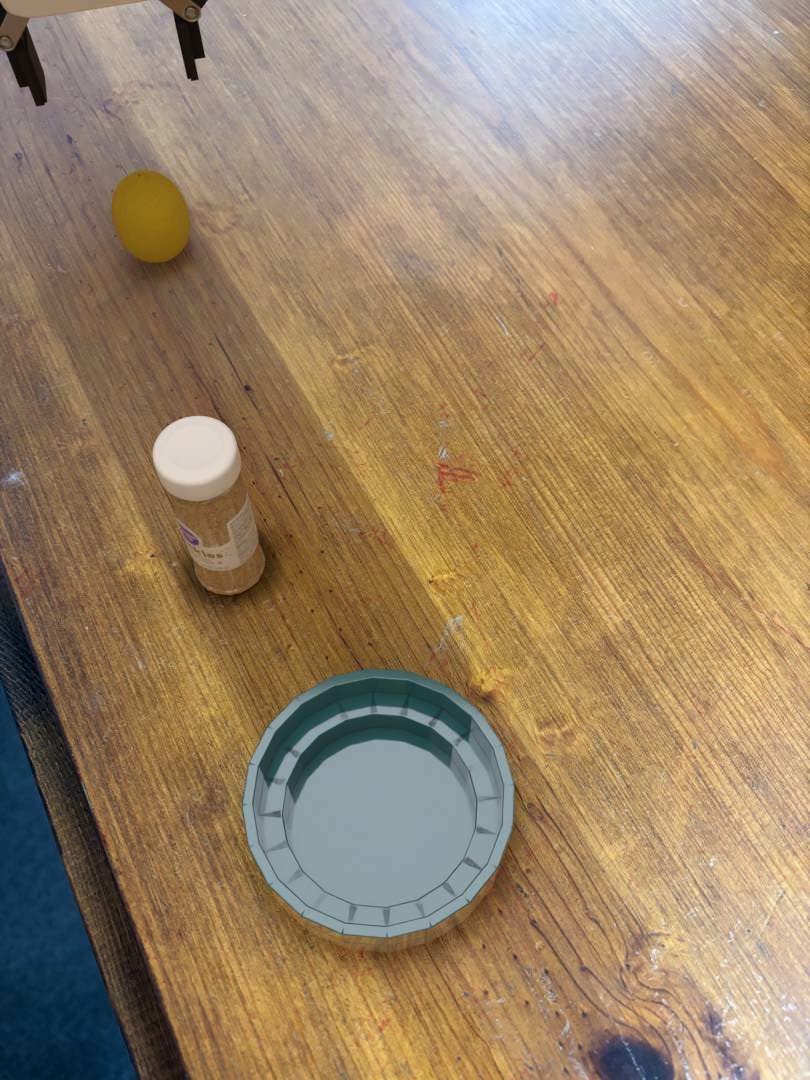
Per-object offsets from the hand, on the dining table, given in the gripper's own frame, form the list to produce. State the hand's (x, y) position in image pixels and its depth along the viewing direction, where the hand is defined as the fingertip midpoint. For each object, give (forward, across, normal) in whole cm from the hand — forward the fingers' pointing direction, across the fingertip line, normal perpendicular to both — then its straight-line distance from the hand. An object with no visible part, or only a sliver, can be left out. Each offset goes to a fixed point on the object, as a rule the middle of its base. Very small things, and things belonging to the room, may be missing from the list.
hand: (116, 79), depth 68 cm
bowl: (+15, -7, +46) cm, 49 cm away
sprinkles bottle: (+16, -1, +28) cm, 32 cm away
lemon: (+16, 0, 0) cm, 16 cm away
